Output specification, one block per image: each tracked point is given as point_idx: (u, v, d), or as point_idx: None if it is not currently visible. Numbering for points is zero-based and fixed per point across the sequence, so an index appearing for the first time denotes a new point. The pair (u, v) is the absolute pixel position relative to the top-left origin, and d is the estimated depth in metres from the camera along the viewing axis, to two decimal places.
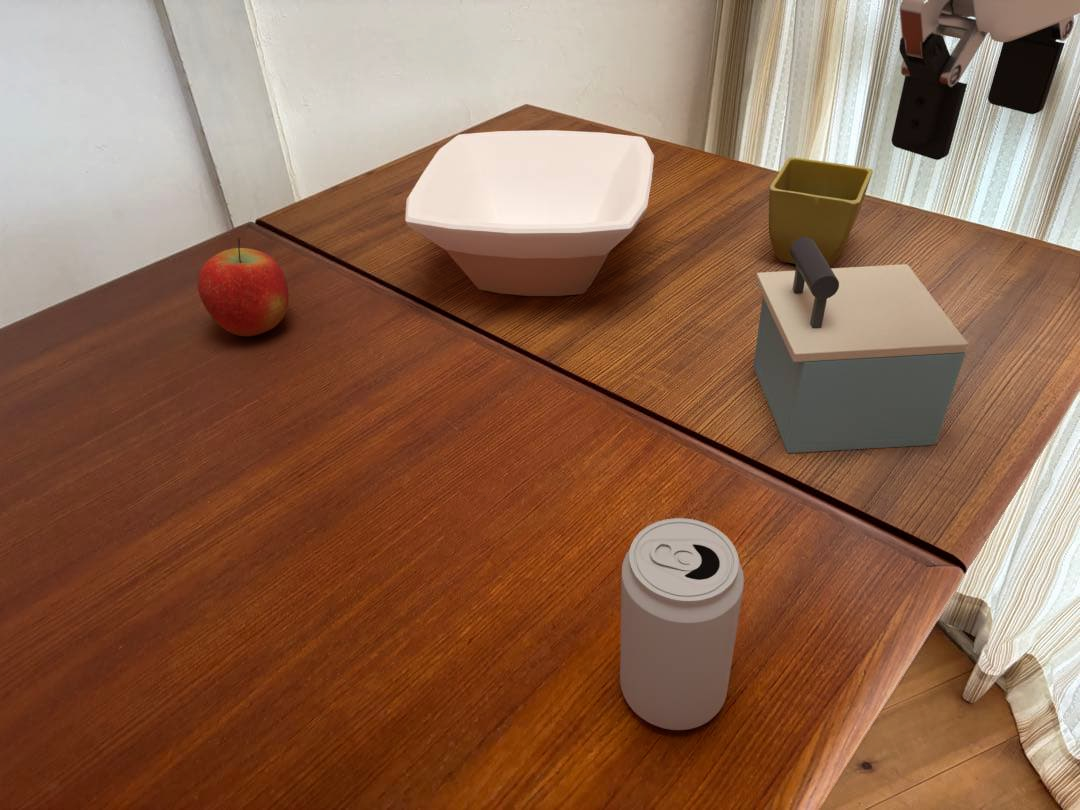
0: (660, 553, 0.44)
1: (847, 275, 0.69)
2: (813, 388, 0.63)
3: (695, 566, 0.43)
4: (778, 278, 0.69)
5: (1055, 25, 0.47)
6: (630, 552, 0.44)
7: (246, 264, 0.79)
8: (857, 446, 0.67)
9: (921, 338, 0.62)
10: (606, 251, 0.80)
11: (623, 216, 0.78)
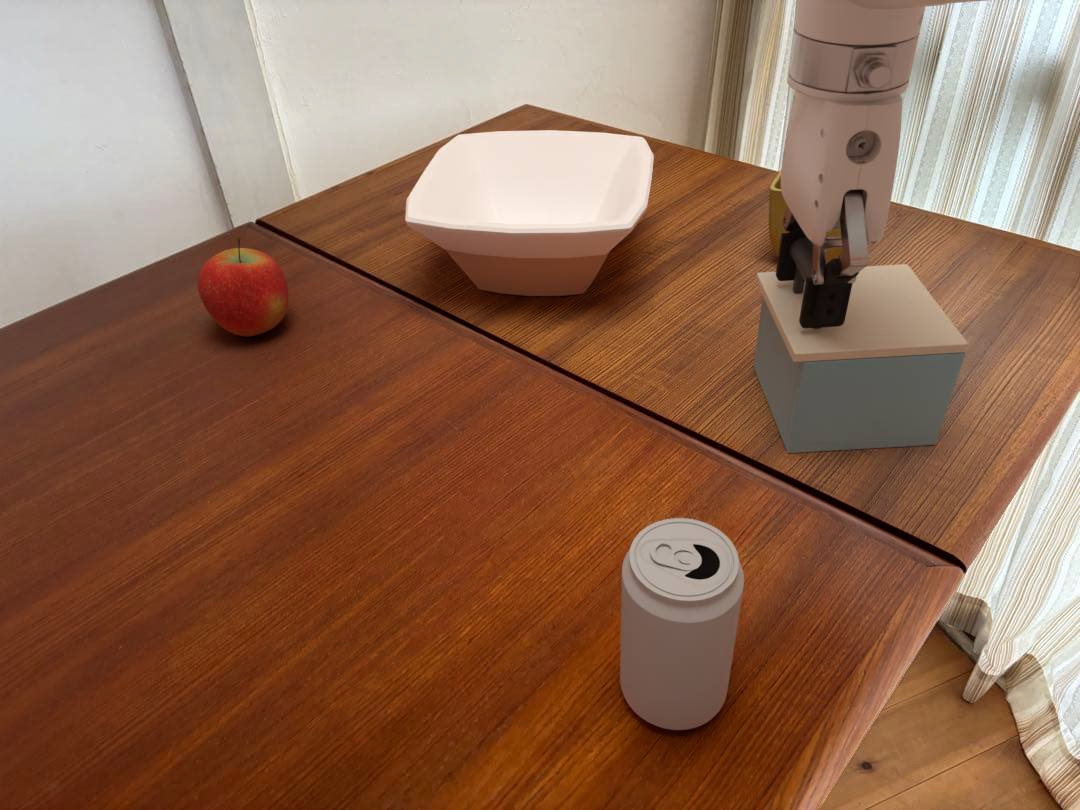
0: (660, 552, 0.44)
1: None
2: (813, 388, 0.63)
3: (696, 566, 0.43)
4: None
5: None
6: (630, 552, 0.44)
7: (246, 264, 0.79)
8: (857, 446, 0.67)
9: (921, 338, 0.62)
10: (606, 251, 0.80)
11: (623, 216, 0.78)
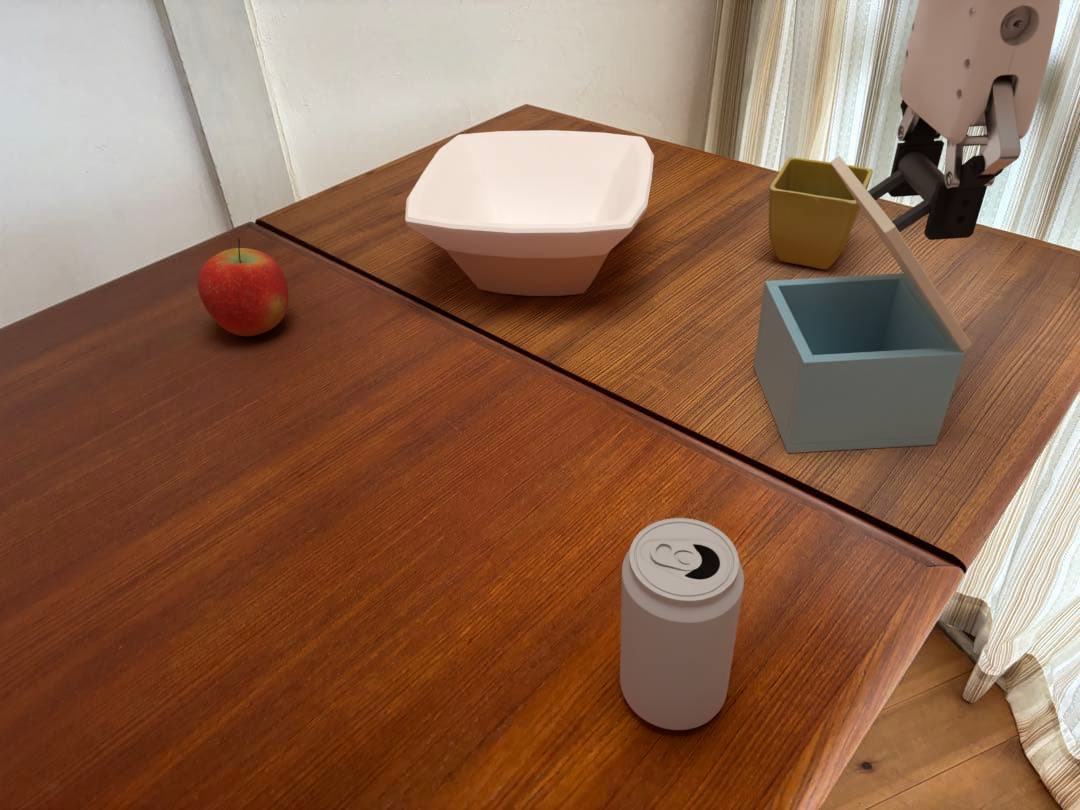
0: (660, 552, 0.44)
1: None
2: (813, 388, 0.63)
3: (696, 566, 0.43)
4: None
5: None
6: (630, 552, 0.44)
7: (246, 264, 0.79)
8: (857, 446, 0.67)
9: None
10: (606, 251, 0.80)
11: (623, 216, 0.78)
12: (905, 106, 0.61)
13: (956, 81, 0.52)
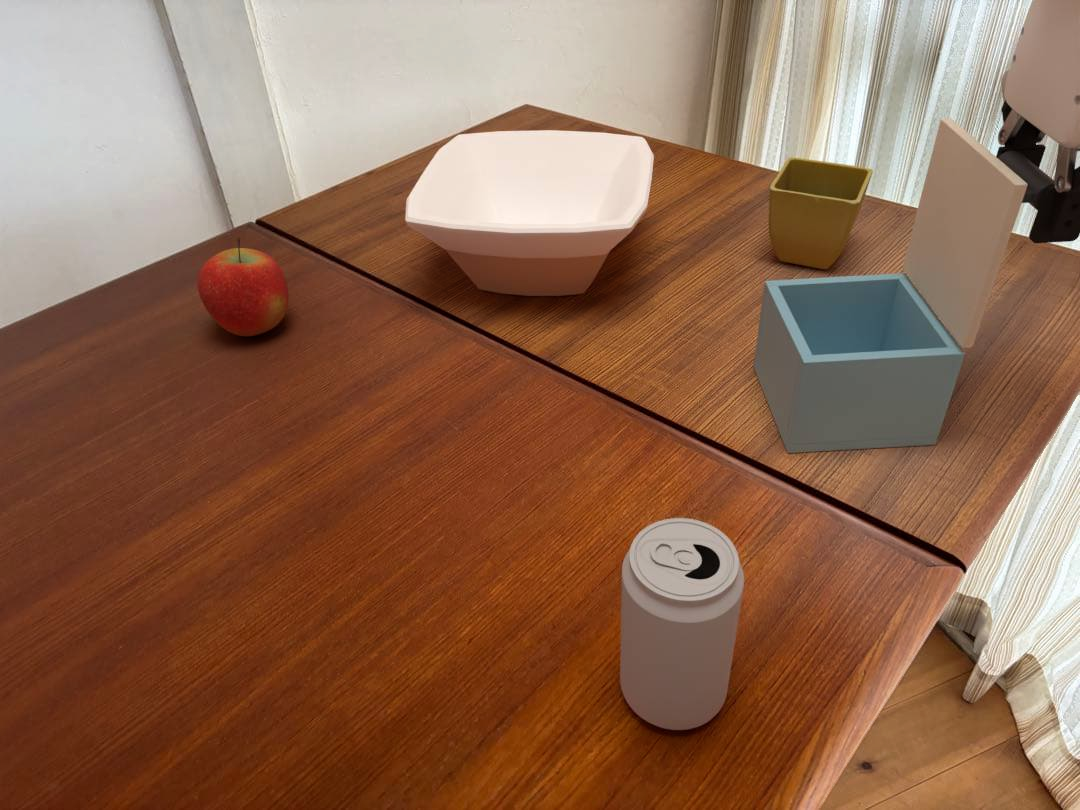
0: (660, 552, 0.44)
1: None
2: (813, 388, 0.63)
3: (696, 566, 0.43)
4: None
5: None
6: (630, 552, 0.44)
7: (246, 264, 0.79)
8: (857, 446, 0.67)
9: None
10: (606, 251, 0.80)
11: (623, 216, 0.78)
12: (1007, 110, 0.62)
13: (1074, 86, 0.52)
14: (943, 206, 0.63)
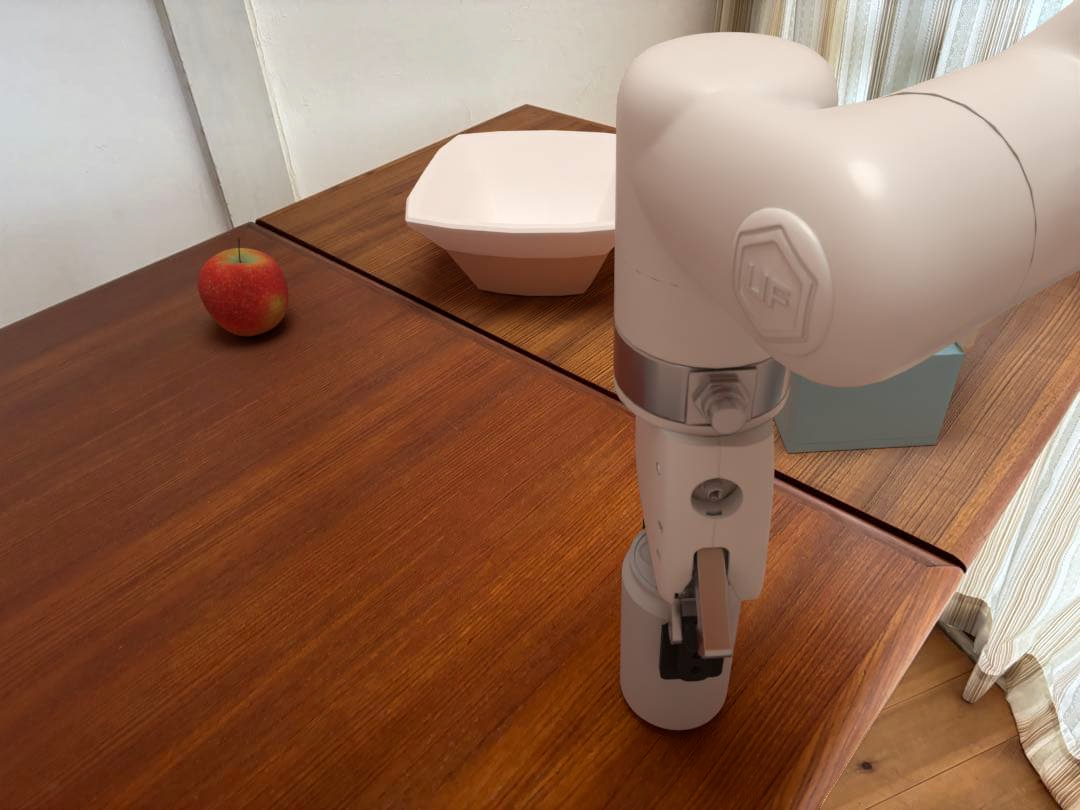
0: None
1: None
2: (813, 388, 0.63)
3: None
4: None
5: None
6: (630, 552, 0.44)
7: (246, 264, 0.79)
8: (857, 446, 0.67)
9: None
10: (606, 251, 0.80)
11: None
12: None
13: (655, 536, 0.38)
14: None
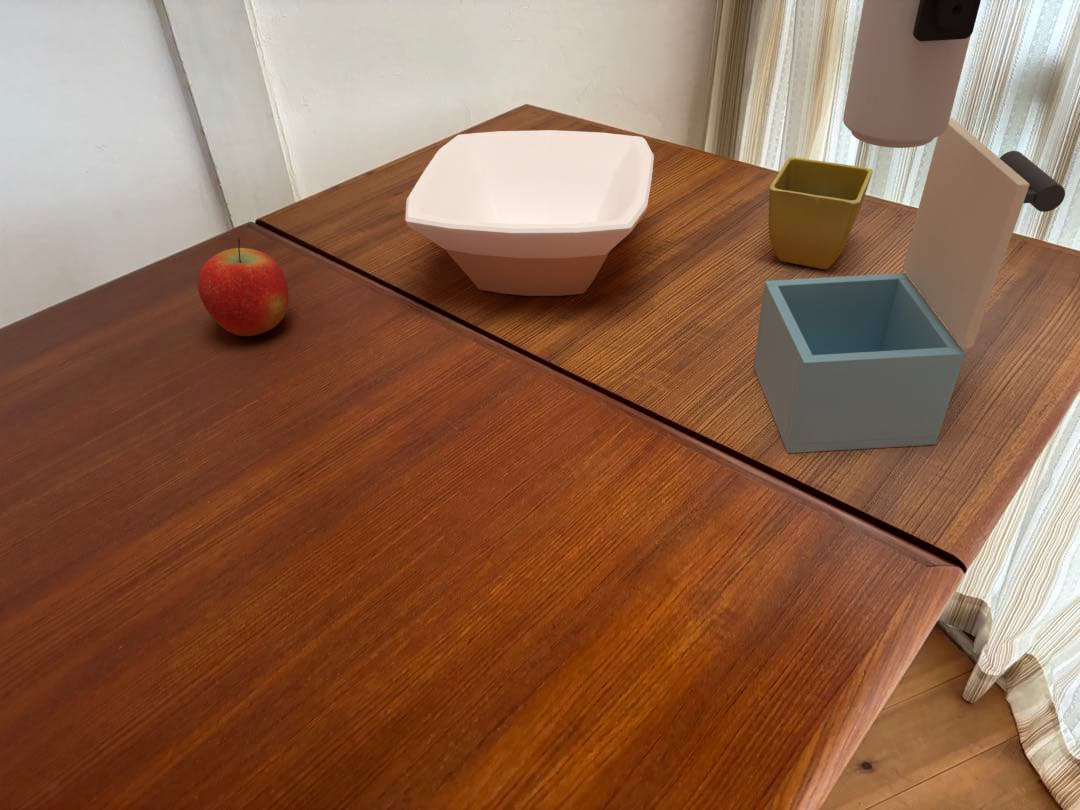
0: None
1: None
2: (813, 388, 0.63)
3: None
4: None
5: None
6: None
7: (246, 264, 0.79)
8: (857, 446, 0.67)
9: None
10: (606, 251, 0.80)
11: (623, 216, 0.78)
12: None
13: None
14: (944, 206, 0.63)
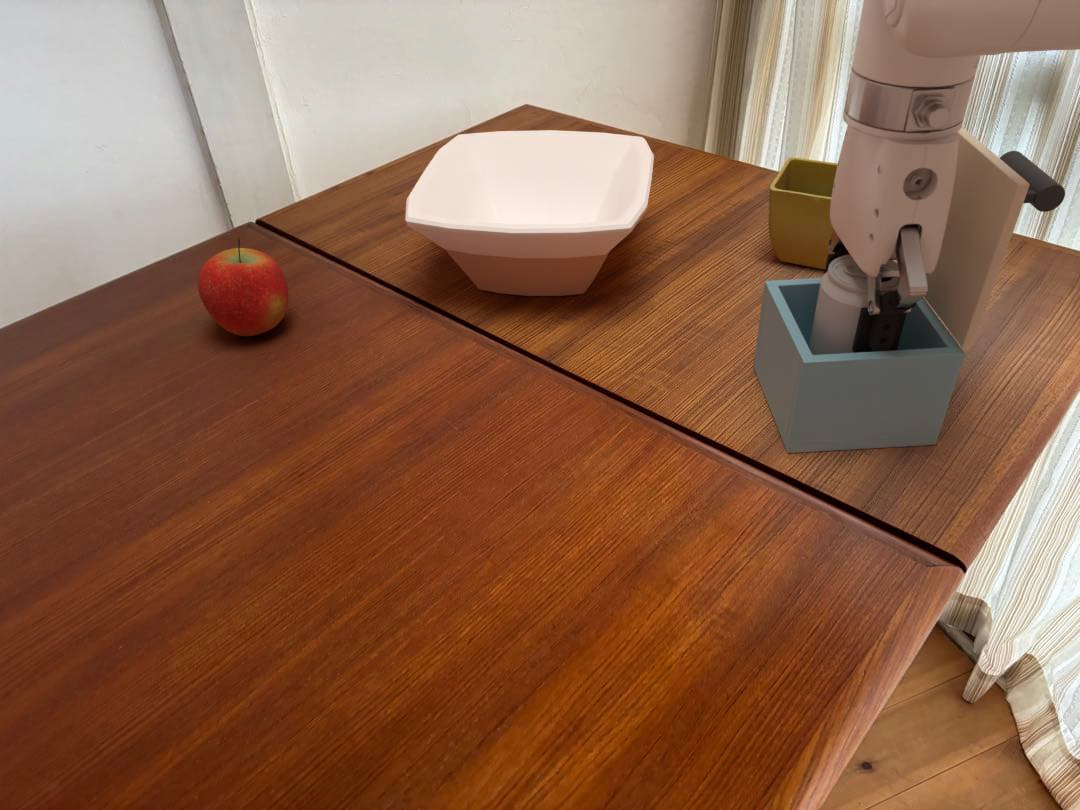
0: (849, 270, 0.64)
1: None
2: (813, 388, 0.63)
3: None
4: None
5: None
6: (829, 270, 0.64)
7: (246, 264, 0.79)
8: (857, 446, 0.67)
9: None
10: (606, 251, 0.80)
11: (623, 216, 0.78)
12: None
13: (869, 225, 0.58)
14: None
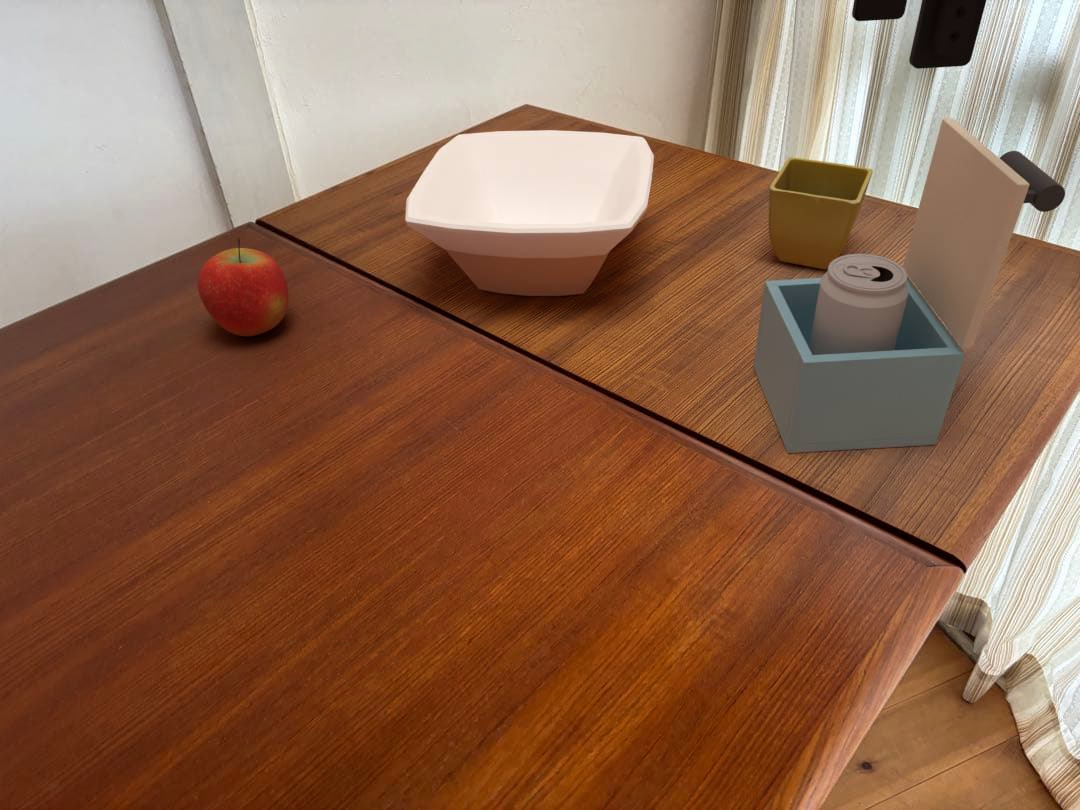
0: (849, 270, 0.64)
1: None
2: (813, 388, 0.63)
3: (876, 276, 0.63)
4: None
5: None
6: (829, 270, 0.64)
7: (246, 264, 0.79)
8: (857, 446, 0.67)
9: None
10: (606, 251, 0.80)
11: (623, 216, 0.78)
12: None
13: None
14: (944, 206, 0.63)
